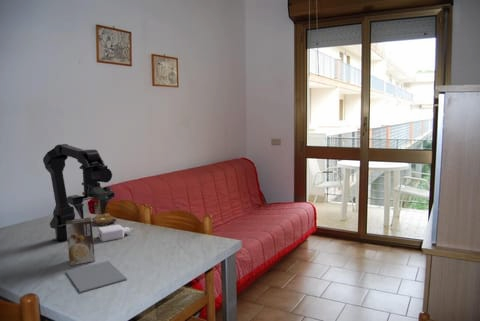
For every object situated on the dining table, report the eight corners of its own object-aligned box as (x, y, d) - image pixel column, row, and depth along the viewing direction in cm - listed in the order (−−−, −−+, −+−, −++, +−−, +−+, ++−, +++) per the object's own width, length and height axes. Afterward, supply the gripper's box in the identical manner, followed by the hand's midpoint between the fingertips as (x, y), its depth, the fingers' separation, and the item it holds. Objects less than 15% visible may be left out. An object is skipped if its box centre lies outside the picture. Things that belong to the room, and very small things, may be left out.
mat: (65, 272, 134) (65, 271, 134) (108, 262, 143) (108, 260, 143) (80, 293, 118) (80, 291, 118) (126, 279, 127) (126, 278, 127)
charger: (136, 236, 174) (102, 242, 166) (131, 231, 182) (98, 237, 174) (136, 226, 173) (102, 232, 166) (130, 221, 181) (98, 227, 173)
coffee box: (94, 256, 149) (91, 216, 148) (95, 261, 144) (92, 220, 142) (69, 260, 146) (66, 219, 144) (69, 265, 140) (65, 224, 138)
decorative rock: (88, 222, 201) (97, 229, 189) (88, 215, 200) (96, 221, 188) (110, 217, 207) (119, 224, 196) (109, 210, 207) (118, 216, 195)
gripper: (79, 186, 143) (81, 225, 145) (121, 179, 158) (123, 215, 160) (64, 182, 150) (67, 220, 152) (106, 176, 165) (108, 210, 167)
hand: (92, 216), depth 158 cm, fingers open, 9 cm apart
